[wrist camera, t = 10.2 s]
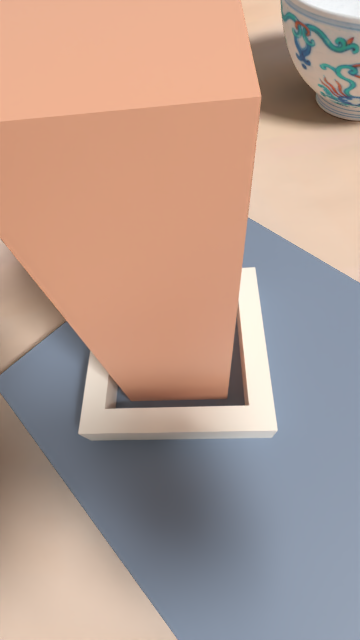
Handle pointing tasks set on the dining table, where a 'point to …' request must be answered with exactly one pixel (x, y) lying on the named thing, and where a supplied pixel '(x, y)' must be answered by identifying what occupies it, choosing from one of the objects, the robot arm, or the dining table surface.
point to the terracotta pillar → (132, 178)
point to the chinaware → (326, 51)
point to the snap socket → (191, 421)
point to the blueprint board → (230, 469)
